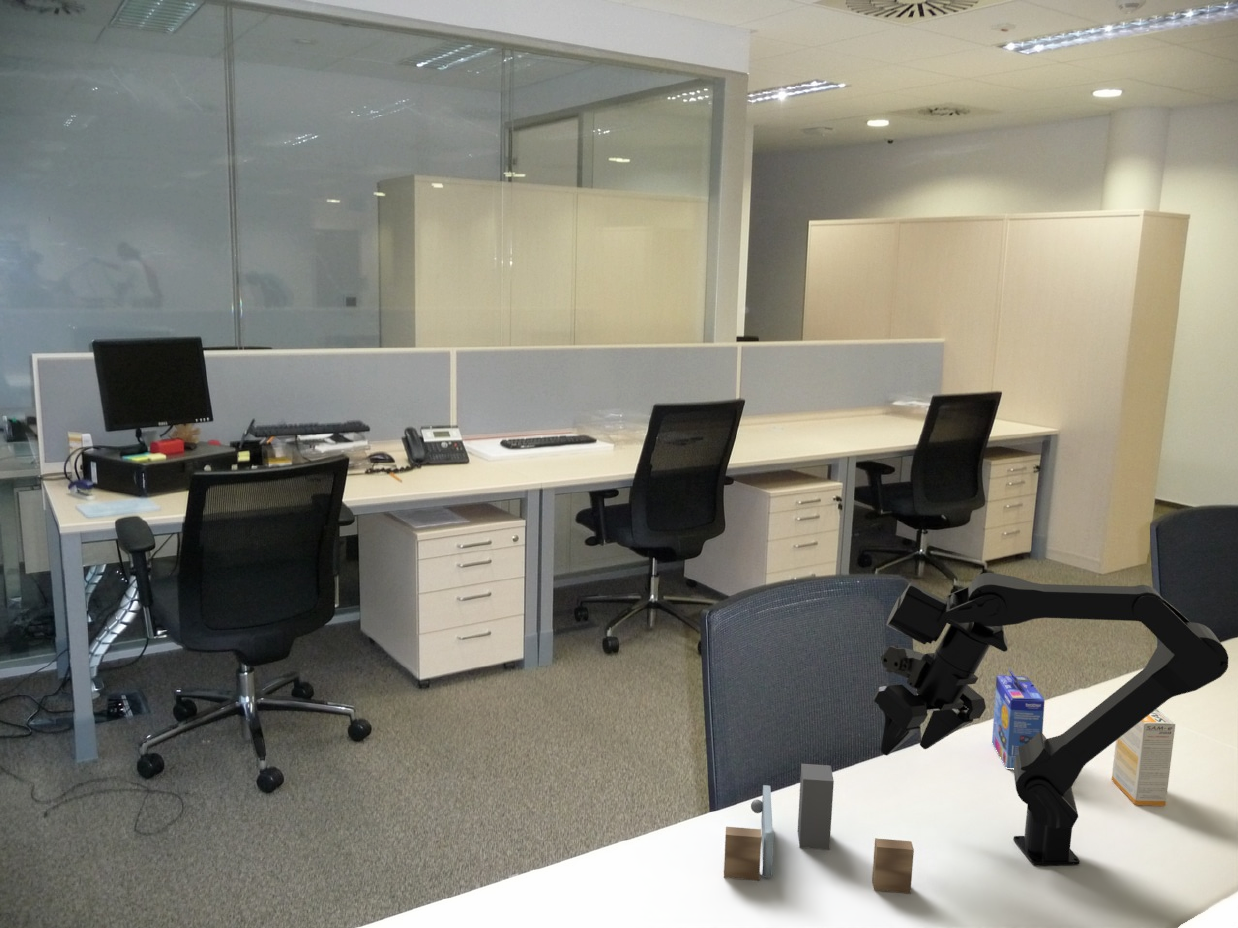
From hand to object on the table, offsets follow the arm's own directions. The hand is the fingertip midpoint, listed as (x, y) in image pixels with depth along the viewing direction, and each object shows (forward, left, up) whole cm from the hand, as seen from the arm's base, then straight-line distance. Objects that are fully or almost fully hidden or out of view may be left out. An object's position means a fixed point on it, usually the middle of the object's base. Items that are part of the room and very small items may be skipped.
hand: (903, 750), depth 145 cm
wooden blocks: (-14, +15, -11) cm, 23 cm away
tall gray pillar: (-4, +13, -11) cm, 18 cm away
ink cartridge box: (+20, -26, -12) cm, 35 cm away
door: (-6, +21, -11) cm, 24 cm away
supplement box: (+8, -40, -11) cm, 42 cm away
